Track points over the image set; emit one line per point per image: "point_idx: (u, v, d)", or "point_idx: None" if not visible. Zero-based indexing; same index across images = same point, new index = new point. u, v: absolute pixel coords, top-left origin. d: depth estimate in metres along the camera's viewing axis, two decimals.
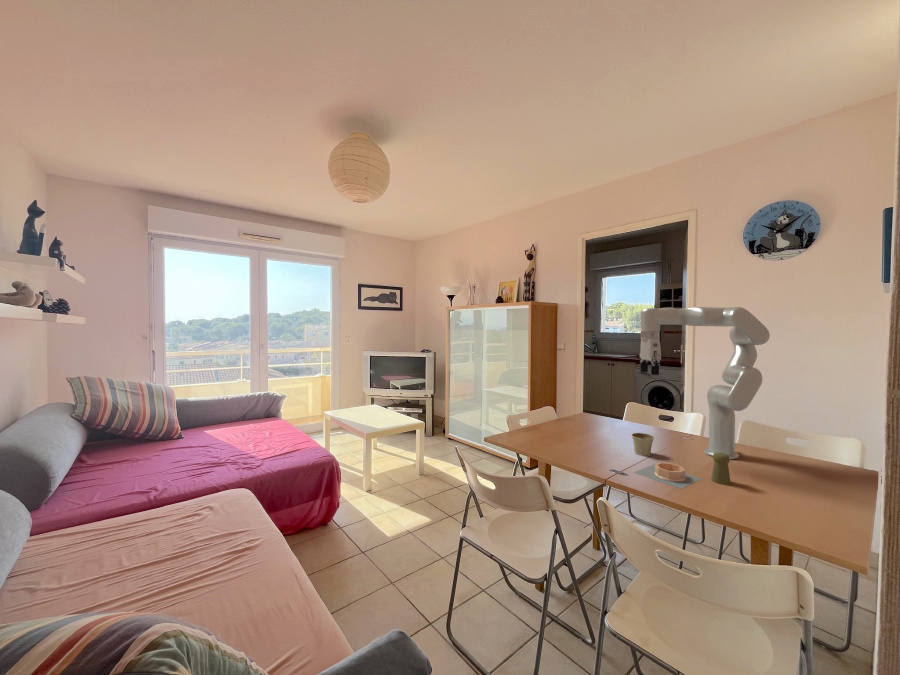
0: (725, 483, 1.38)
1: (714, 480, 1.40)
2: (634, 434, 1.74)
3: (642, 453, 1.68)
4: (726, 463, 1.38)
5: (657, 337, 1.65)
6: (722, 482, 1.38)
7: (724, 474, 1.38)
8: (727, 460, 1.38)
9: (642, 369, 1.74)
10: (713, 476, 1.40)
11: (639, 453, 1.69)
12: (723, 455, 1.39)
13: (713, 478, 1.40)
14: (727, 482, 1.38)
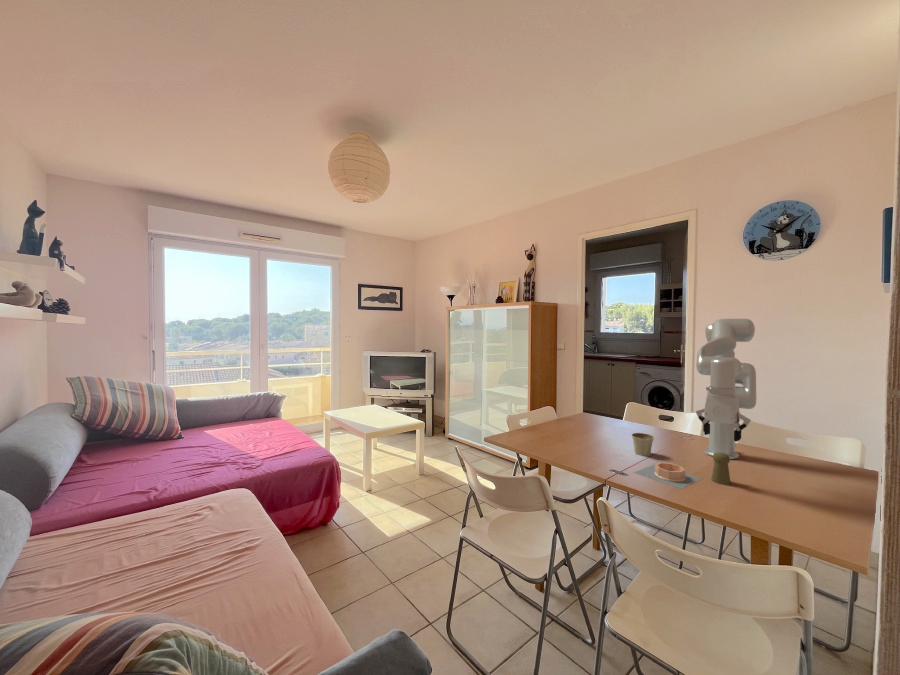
0: (725, 483, 1.38)
1: (714, 480, 1.40)
2: (634, 434, 1.74)
3: (642, 453, 1.68)
4: (726, 463, 1.38)
5: (710, 392, 1.41)
6: (722, 482, 1.38)
7: (724, 474, 1.38)
8: (727, 460, 1.38)
9: None
10: (713, 476, 1.40)
11: (639, 453, 1.69)
12: (723, 455, 1.39)
13: (713, 478, 1.40)
14: (727, 482, 1.38)
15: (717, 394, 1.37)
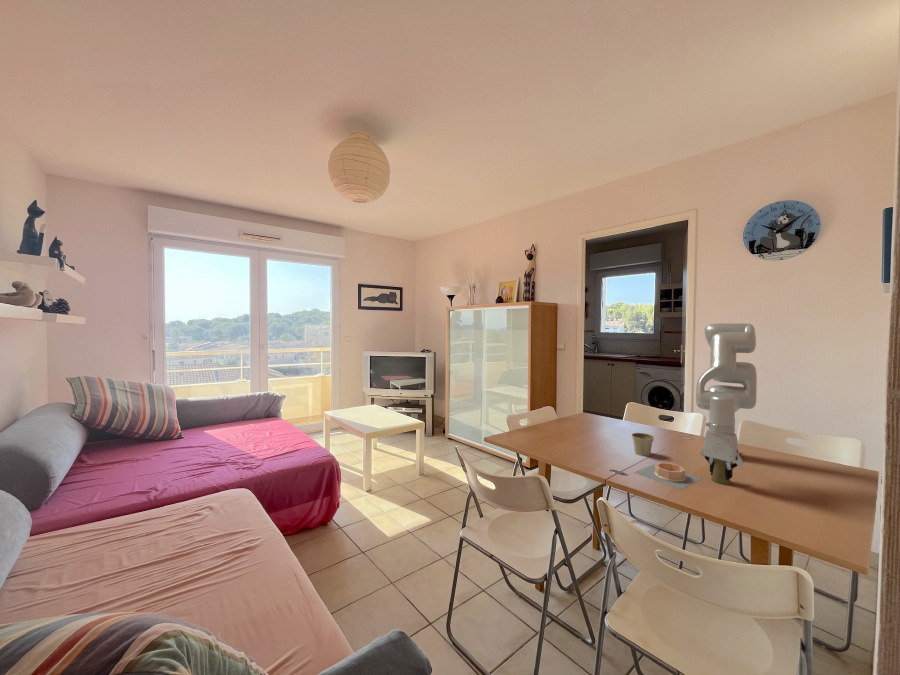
0: (725, 483, 1.38)
1: (714, 480, 1.40)
2: (634, 434, 1.74)
3: (642, 453, 1.68)
4: None
5: (709, 429, 1.42)
6: (722, 482, 1.38)
7: (724, 474, 1.38)
8: None
9: None
10: (713, 476, 1.40)
11: (639, 453, 1.69)
12: None
13: (713, 478, 1.40)
14: (727, 482, 1.38)
15: (716, 431, 1.38)
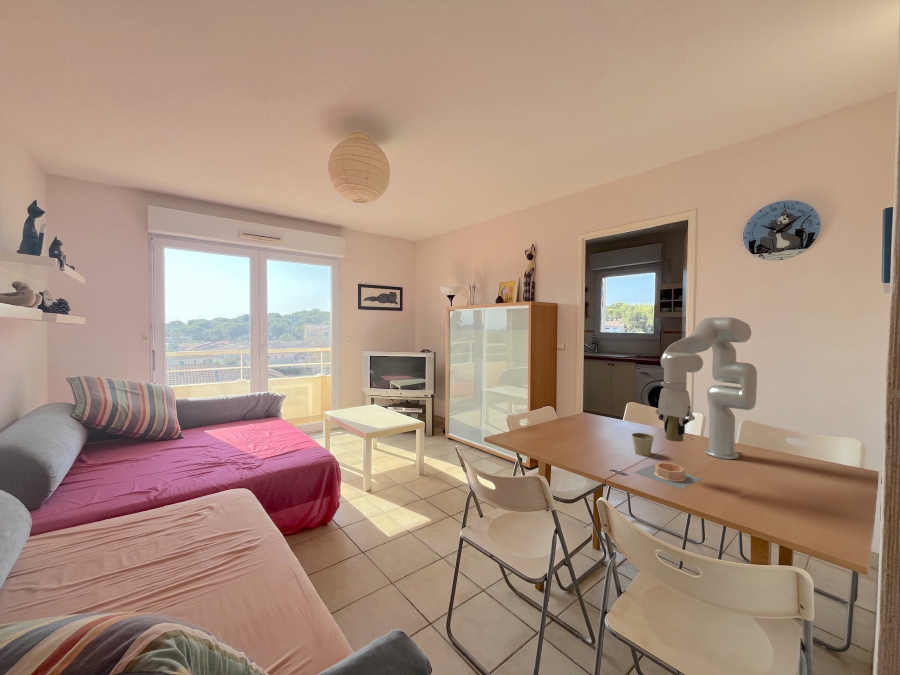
0: (677, 439, 1.41)
1: (667, 437, 1.44)
2: (634, 434, 1.74)
3: (642, 453, 1.68)
4: None
5: (663, 387, 1.45)
6: (675, 438, 1.42)
7: (677, 430, 1.42)
8: None
9: None
10: (667, 433, 1.44)
11: (639, 453, 1.69)
12: None
13: (667, 435, 1.44)
14: (680, 438, 1.41)
15: (669, 389, 1.42)
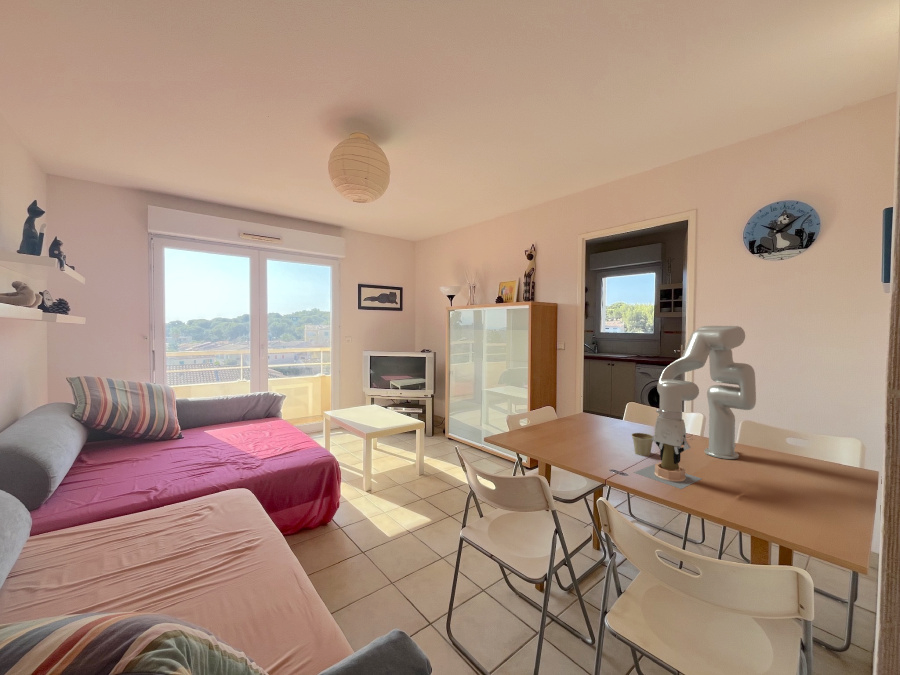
0: (673, 467, 1.42)
1: (663, 464, 1.45)
2: (634, 434, 1.74)
3: (642, 453, 1.68)
4: None
5: None
6: (670, 466, 1.43)
7: (672, 458, 1.43)
8: None
9: None
10: (662, 461, 1.45)
11: (639, 453, 1.69)
12: None
13: (662, 462, 1.45)
14: (675, 466, 1.42)
15: (665, 417, 1.43)
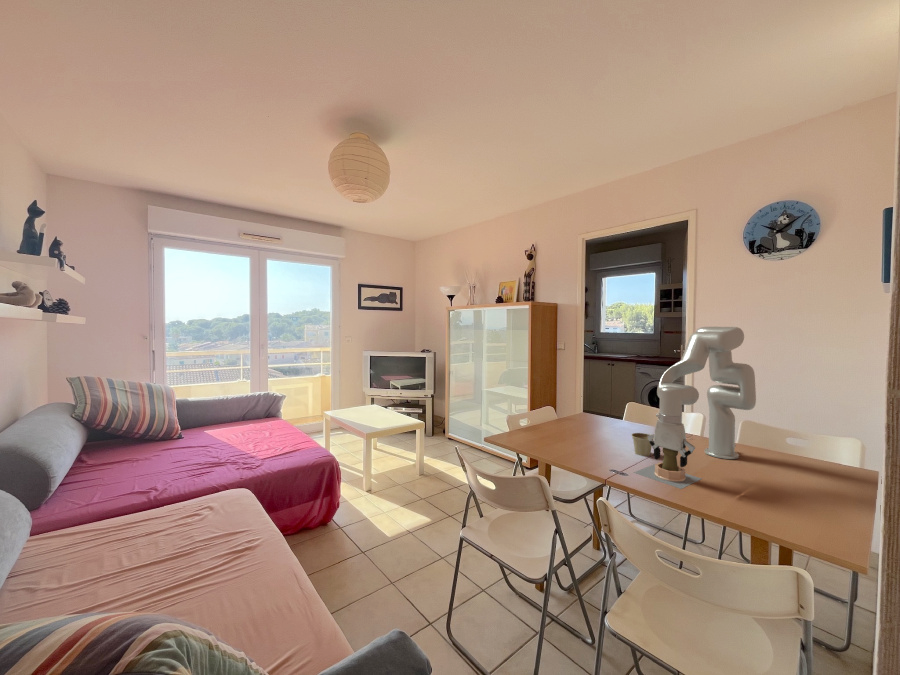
0: None
1: None
2: (634, 434, 1.74)
3: (642, 453, 1.68)
4: (674, 456, 1.43)
5: (659, 419, 1.46)
6: None
7: (672, 467, 1.43)
8: (675, 453, 1.43)
9: None
10: (662, 468, 1.45)
11: (639, 453, 1.69)
12: None
13: None
14: None
15: (665, 421, 1.43)
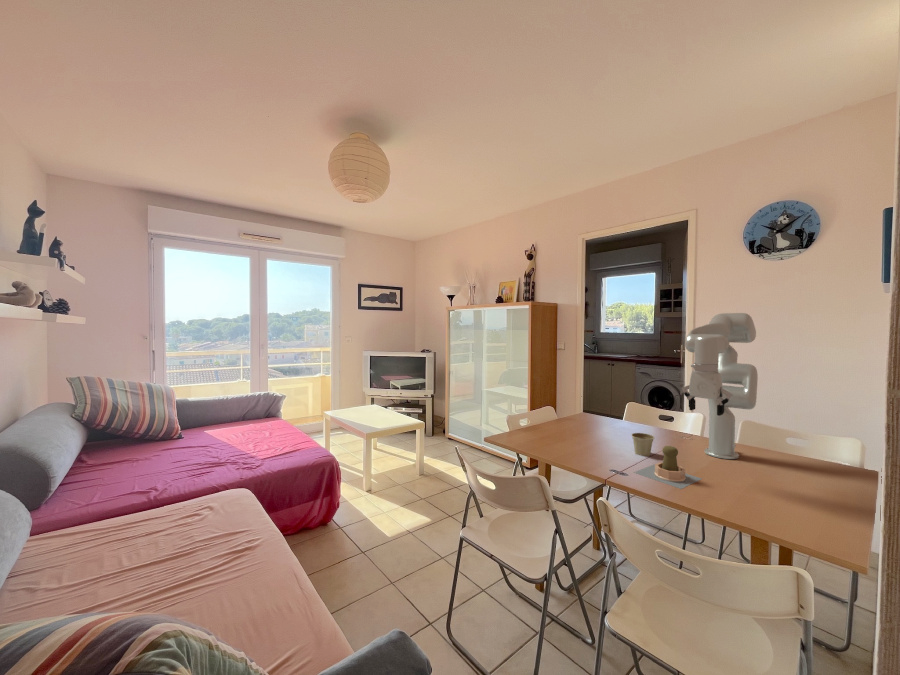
0: None
1: None
2: (634, 434, 1.74)
3: (642, 453, 1.68)
4: (674, 456, 1.43)
5: (694, 369, 1.45)
6: None
7: (672, 467, 1.43)
8: (675, 453, 1.43)
9: None
10: (662, 468, 1.45)
11: (639, 453, 1.69)
12: (671, 448, 1.44)
13: None
14: None
15: (700, 370, 1.41)
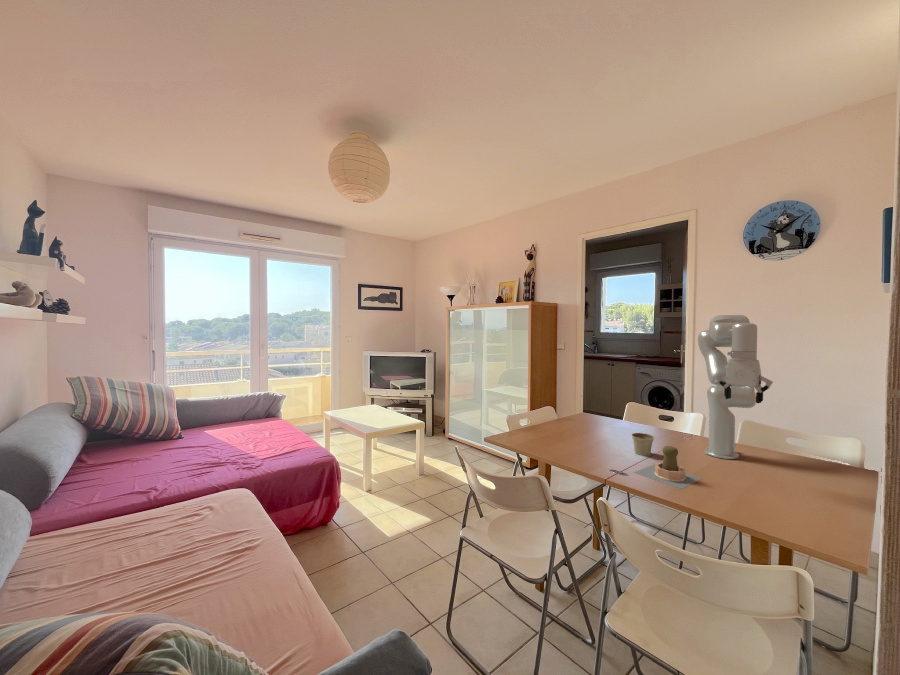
0: None
1: None
2: (634, 434, 1.74)
3: (642, 453, 1.68)
4: (674, 456, 1.43)
5: None
6: None
7: (672, 467, 1.43)
8: (675, 453, 1.43)
9: None
10: (662, 468, 1.45)
11: (639, 453, 1.69)
12: (671, 448, 1.44)
13: None
14: None
15: (739, 358, 1.40)
